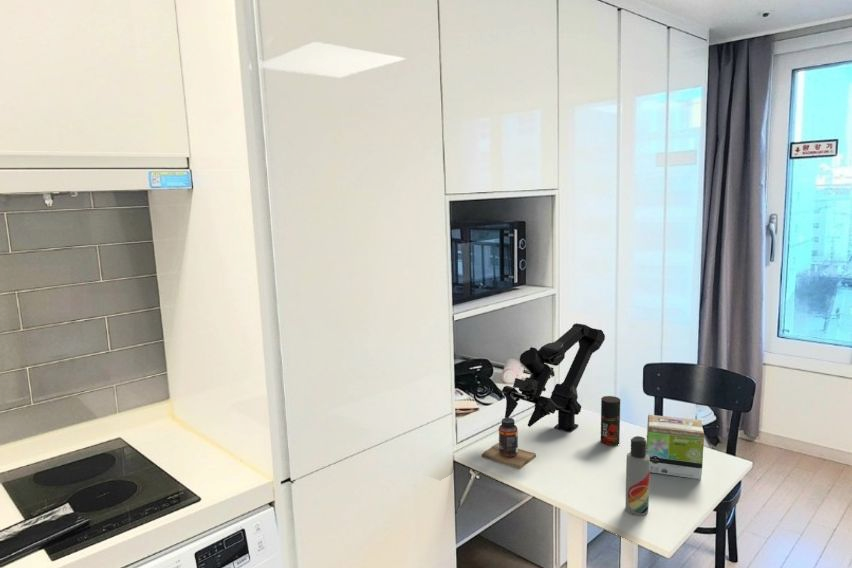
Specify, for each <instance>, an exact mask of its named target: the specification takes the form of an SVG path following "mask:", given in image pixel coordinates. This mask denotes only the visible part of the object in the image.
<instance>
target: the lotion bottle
mask: <svg viewBox="0 0 852 568" xmlns="http://www.w3.org/2000/svg"><path fill="white" fill-rule="evenodd" d="M646 445H647V438H645V437H643V436H638V435H637V436H633V437H631V438H630V452H628V453H626V459H625V460H626V466H625V467H626V468H625V471H626V472H625V510H626V511H627V512H628V513H630V514H631V515H635V516H645V515H647V514H648V513H649V505H650V503H649V502H650V473H651V472H650V457H649V455H647V454H646Z"/></svg>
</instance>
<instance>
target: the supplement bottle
mask: <svg viewBox="0 0 852 568" xmlns="http://www.w3.org/2000/svg"><path fill="white" fill-rule="evenodd" d="M518 430H519V429H518V427H517V425H516V424H515V419H514V418H512V417H509V418H505V417H504V418H502V419H501V425H499V426H498V443H499V453H500V454H501V455H502V456H505V457H513V456H516V455H517V454H518V449H519V438H518V434H519V433H518V432H519V431H518Z"/></svg>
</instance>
